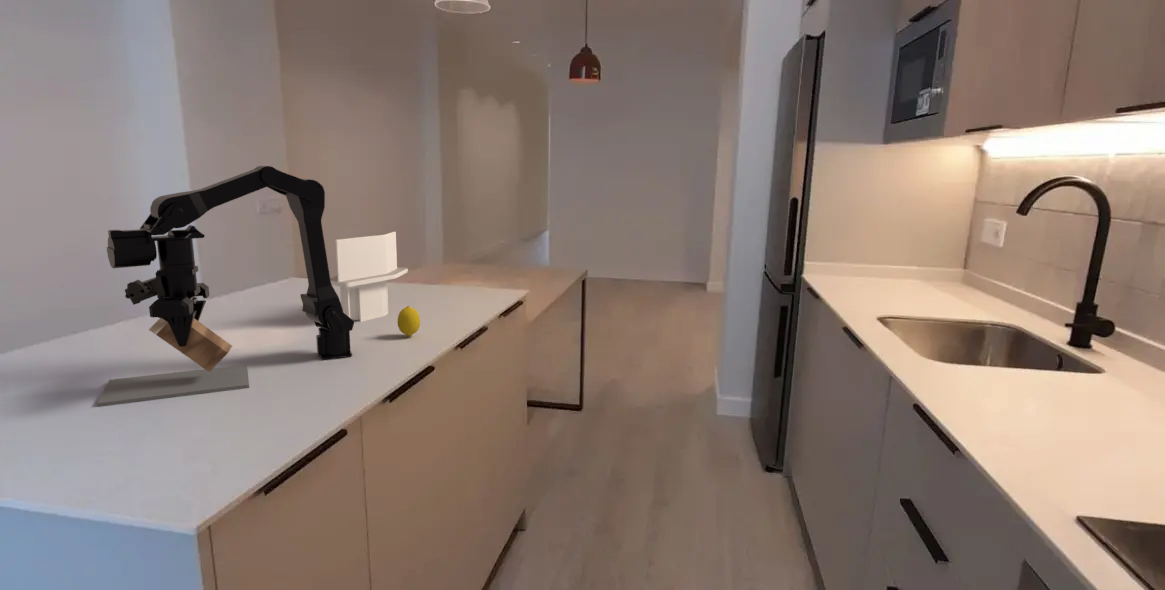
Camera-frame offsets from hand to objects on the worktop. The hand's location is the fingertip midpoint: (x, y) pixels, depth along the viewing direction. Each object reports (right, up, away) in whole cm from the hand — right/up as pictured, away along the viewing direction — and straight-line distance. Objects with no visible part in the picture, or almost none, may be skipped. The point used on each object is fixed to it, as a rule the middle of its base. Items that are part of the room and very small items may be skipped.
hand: (186, 342), depth 126 cm
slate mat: (-2, -8, +1) cm, 9 cm away
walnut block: (+5, -3, +3) cm, 7 cm away
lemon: (+33, -2, +39) cm, 51 cm away
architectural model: (+15, +3, +60) cm, 62 cm away
